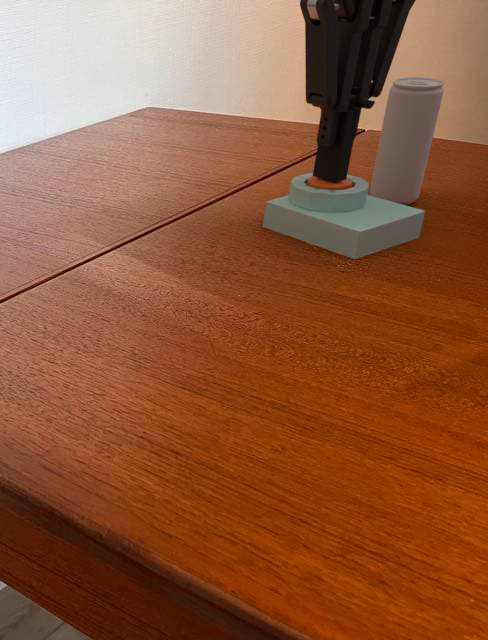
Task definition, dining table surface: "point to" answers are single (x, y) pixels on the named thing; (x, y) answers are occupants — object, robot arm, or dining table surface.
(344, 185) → the button
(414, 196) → the beverage can
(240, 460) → the dining table surface
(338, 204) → the control box
